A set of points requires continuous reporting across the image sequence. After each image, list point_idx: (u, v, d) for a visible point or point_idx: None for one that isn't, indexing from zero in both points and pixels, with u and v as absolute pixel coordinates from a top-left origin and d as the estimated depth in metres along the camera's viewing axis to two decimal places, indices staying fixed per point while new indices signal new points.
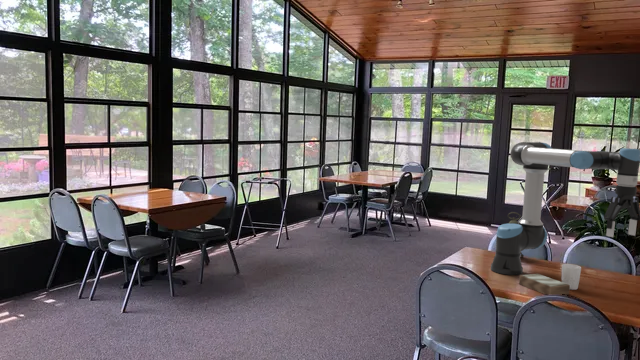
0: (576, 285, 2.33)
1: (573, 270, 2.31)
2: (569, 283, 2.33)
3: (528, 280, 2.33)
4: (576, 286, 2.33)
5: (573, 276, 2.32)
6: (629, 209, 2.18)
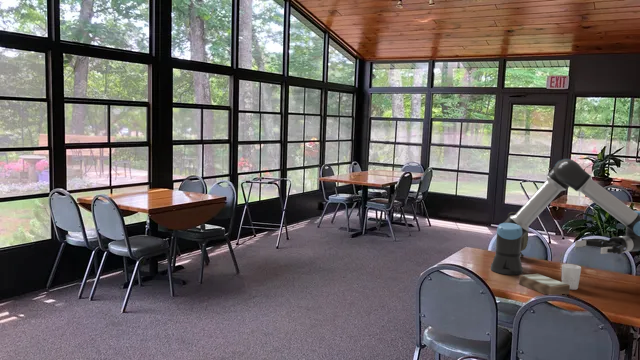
0: (576, 285, 2.33)
1: (573, 270, 2.31)
2: (569, 283, 2.33)
3: (528, 280, 2.33)
4: (576, 286, 2.33)
5: (573, 276, 2.32)
6: (598, 243, 2.46)
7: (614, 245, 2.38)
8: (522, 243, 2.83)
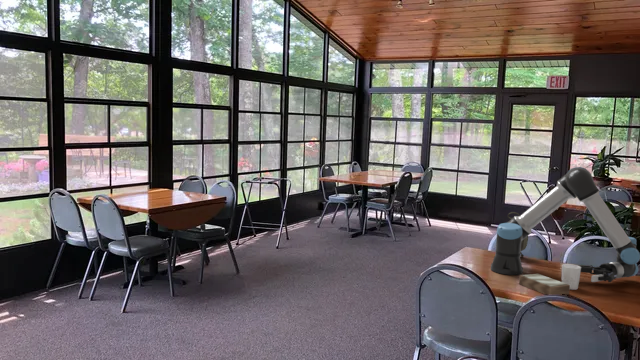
0: (576, 285, 2.33)
1: (573, 270, 2.31)
2: (569, 283, 2.33)
3: (528, 280, 2.33)
4: (576, 286, 2.33)
5: (573, 276, 2.32)
6: (588, 270, 2.45)
7: (605, 272, 2.37)
8: (522, 243, 2.83)
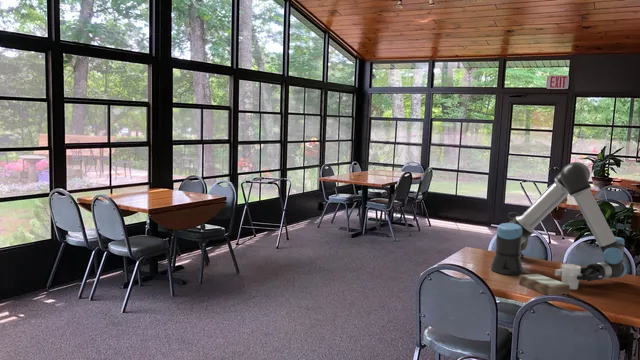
0: (576, 285, 2.33)
1: (573, 270, 2.31)
2: (569, 283, 2.33)
3: (528, 280, 2.33)
4: (576, 286, 2.33)
5: None
6: None
7: (588, 272, 2.35)
8: (522, 243, 2.83)
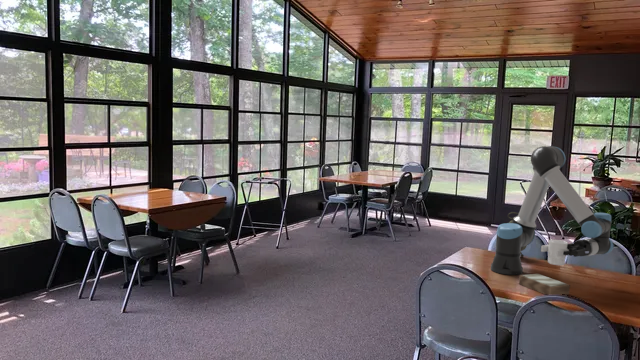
0: (563, 261, 2.28)
1: (560, 245, 2.27)
2: (556, 259, 2.28)
3: (528, 280, 2.33)
4: (563, 262, 2.28)
5: None
6: None
7: (575, 248, 2.31)
8: None
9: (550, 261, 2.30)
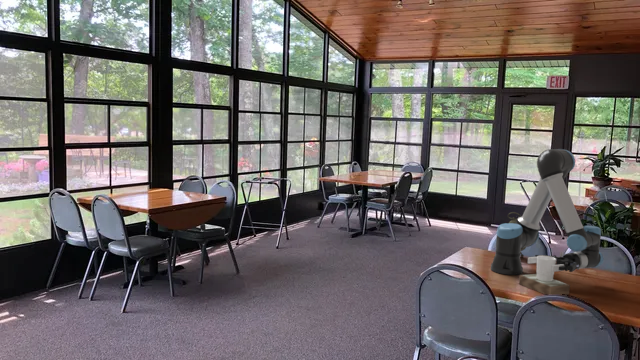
0: (551, 277, 2.29)
1: (548, 262, 2.27)
2: (544, 275, 2.28)
3: (528, 280, 2.33)
4: (551, 278, 2.29)
5: (548, 268, 2.27)
6: None
7: (567, 262, 2.30)
8: None
9: (538, 277, 2.31)
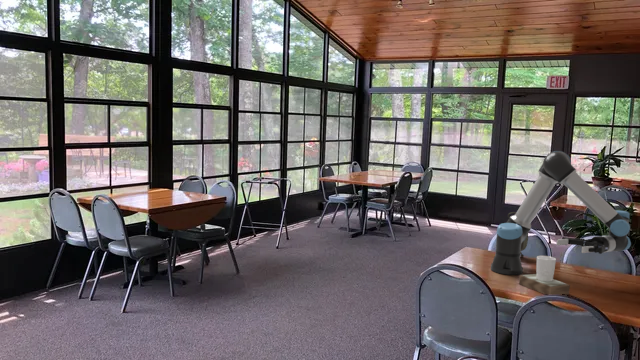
0: (551, 277, 2.29)
1: (548, 262, 2.27)
2: (543, 275, 2.29)
3: (528, 280, 2.33)
4: (551, 278, 2.29)
5: (547, 268, 2.27)
6: (580, 242, 2.43)
7: (596, 244, 2.35)
8: (522, 243, 2.83)
9: (538, 277, 2.31)
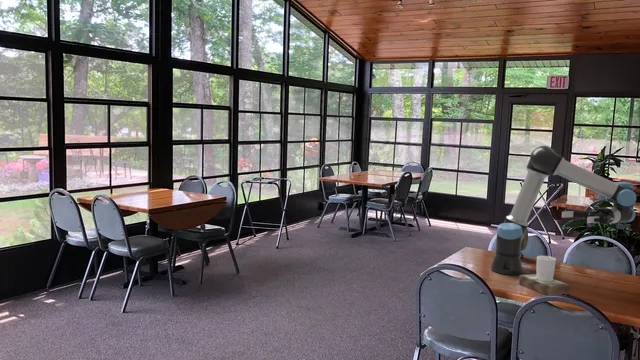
0: (551, 277, 2.29)
1: (548, 262, 2.27)
2: (543, 275, 2.29)
3: (528, 280, 2.33)
4: (551, 278, 2.29)
5: (547, 268, 2.27)
6: (585, 214, 2.43)
7: None
8: (522, 243, 2.83)
9: (538, 277, 2.31)
